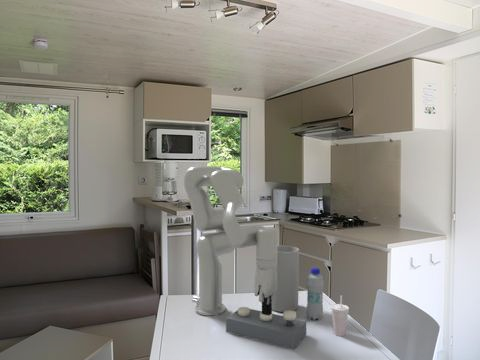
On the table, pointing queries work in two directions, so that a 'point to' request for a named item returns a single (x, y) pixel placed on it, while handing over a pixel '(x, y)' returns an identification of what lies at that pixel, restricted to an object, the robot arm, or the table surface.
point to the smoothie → (339, 317)
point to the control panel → (267, 329)
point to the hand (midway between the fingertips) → (266, 313)
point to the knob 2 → (289, 317)
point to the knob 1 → (243, 311)
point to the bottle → (315, 294)
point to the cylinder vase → (286, 279)
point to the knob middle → (265, 317)
